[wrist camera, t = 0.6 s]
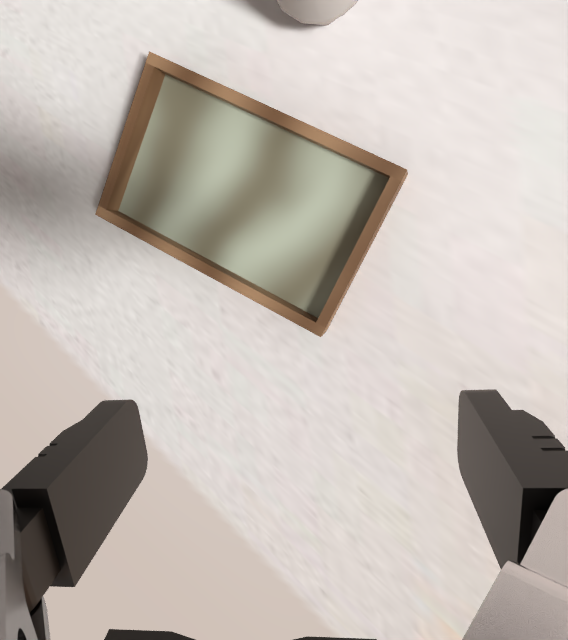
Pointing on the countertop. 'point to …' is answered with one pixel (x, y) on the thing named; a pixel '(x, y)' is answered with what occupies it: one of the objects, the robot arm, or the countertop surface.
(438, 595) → the countertop surface
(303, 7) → the salt shaker
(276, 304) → the tray
